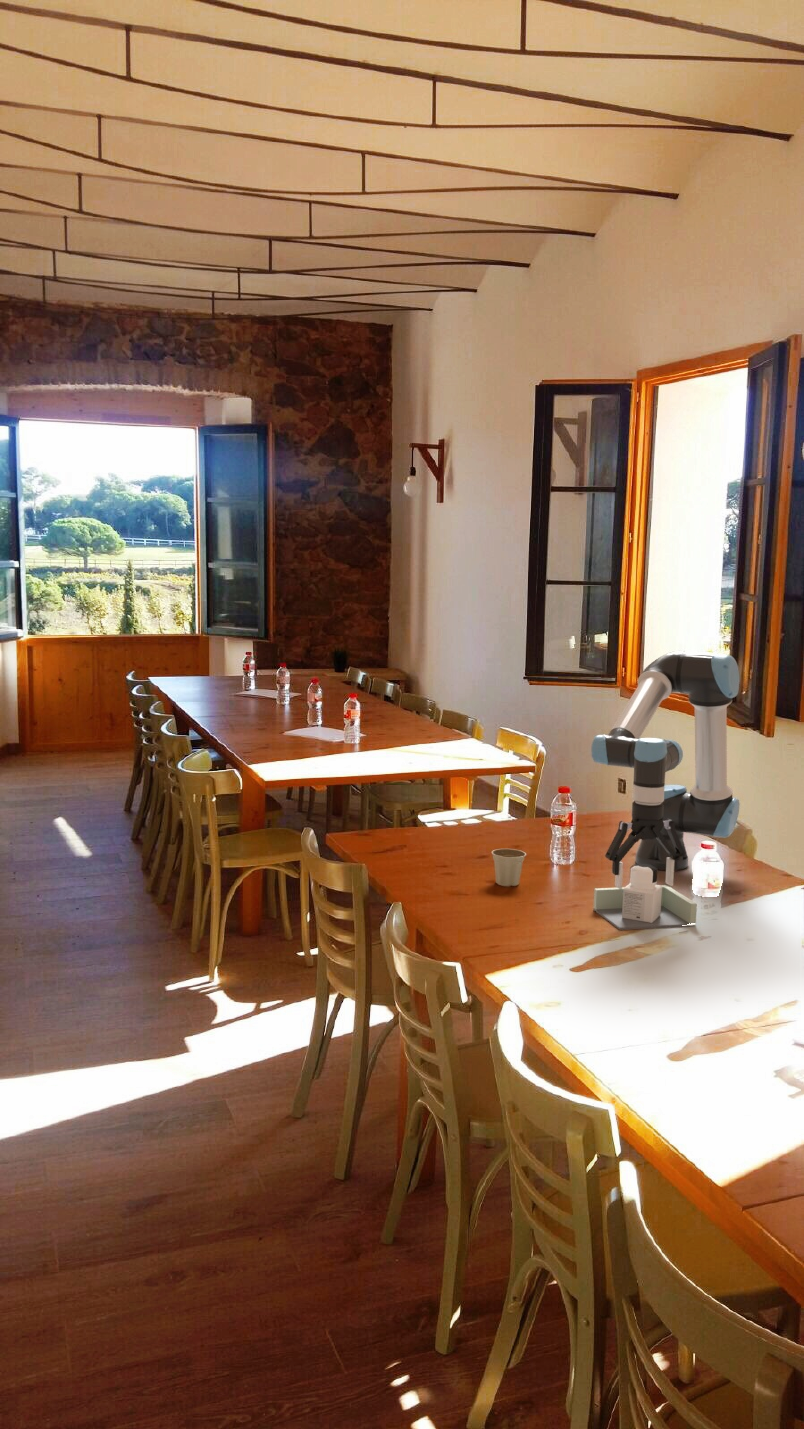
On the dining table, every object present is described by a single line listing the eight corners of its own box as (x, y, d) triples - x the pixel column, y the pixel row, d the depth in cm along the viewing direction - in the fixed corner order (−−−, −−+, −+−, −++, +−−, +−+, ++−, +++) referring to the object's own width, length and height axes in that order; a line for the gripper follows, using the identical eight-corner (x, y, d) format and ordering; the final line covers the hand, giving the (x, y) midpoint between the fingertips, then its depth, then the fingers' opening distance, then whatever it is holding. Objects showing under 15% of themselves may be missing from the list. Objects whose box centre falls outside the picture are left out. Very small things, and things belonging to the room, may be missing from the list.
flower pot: (524, 879, 315) (526, 849, 314) (525, 889, 306) (526, 858, 305) (490, 878, 316) (491, 847, 315) (489, 887, 307) (491, 856, 306)
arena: (665, 906, 294) (666, 885, 293) (695, 925, 279) (696, 903, 278) (593, 909, 289) (594, 888, 289) (619, 930, 274) (620, 907, 273)
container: (630, 910, 288) (633, 860, 286) (660, 915, 284) (663, 864, 283) (621, 918, 281) (624, 866, 279) (652, 923, 278) (655, 871, 276)
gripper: (687, 796, 285) (682, 878, 289) (594, 800, 280) (590, 884, 283) (702, 803, 278) (697, 887, 281) (606, 807, 272) (603, 893, 276)
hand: (643, 885), depth 282 cm, fingers open, 13 cm apart
